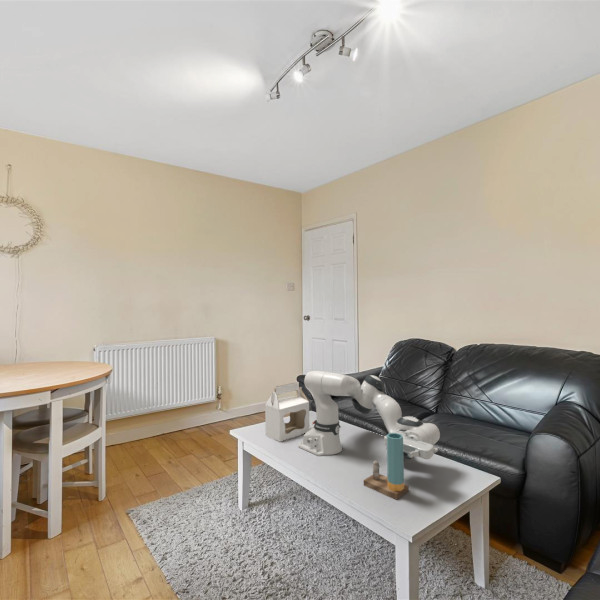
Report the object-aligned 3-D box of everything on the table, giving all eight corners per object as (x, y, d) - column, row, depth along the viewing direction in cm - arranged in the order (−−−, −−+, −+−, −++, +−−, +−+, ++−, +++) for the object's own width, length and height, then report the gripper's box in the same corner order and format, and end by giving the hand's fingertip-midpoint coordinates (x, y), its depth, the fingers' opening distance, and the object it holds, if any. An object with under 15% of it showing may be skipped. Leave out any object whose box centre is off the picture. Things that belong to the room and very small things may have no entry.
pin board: (363, 485, 143) (363, 462, 143) (376, 477, 150) (376, 455, 150) (396, 499, 132) (395, 475, 132) (408, 490, 139) (408, 467, 139)
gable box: (295, 425, 213) (294, 379, 213) (310, 431, 203) (309, 383, 203) (265, 435, 198) (264, 385, 198) (279, 442, 188) (278, 389, 188)
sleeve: (385, 487, 138) (384, 435, 138) (393, 481, 142) (392, 431, 142) (398, 492, 134) (397, 439, 134) (406, 487, 138) (405, 435, 138)
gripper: (440, 456, 141) (423, 468, 131) (395, 442, 156) (376, 451, 146) (439, 441, 141) (422, 451, 131) (394, 428, 156) (376, 436, 146)
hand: (398, 451), depth 139 cm, fingers open, 8 cm apart
